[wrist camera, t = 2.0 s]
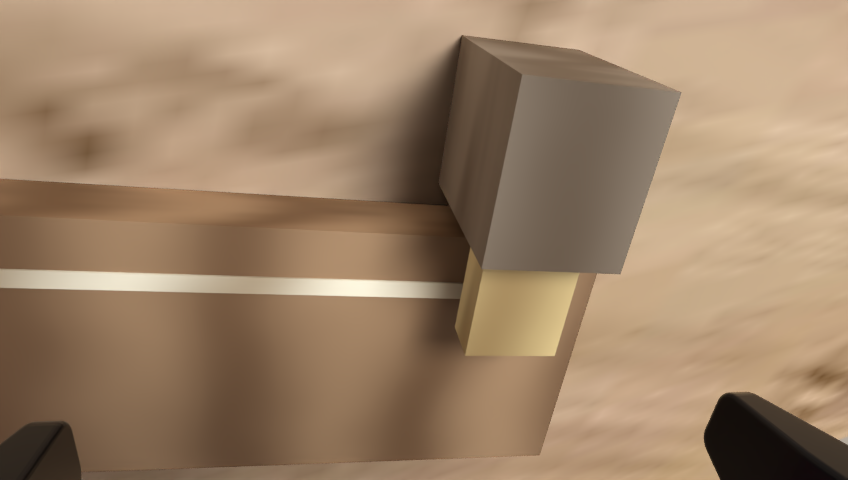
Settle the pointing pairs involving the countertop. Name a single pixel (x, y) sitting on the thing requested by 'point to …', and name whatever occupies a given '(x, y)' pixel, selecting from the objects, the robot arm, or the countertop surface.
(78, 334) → the plank
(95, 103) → the countertop surface
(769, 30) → the countertop surface
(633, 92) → the grey and beige block
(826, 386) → the countertop surface
